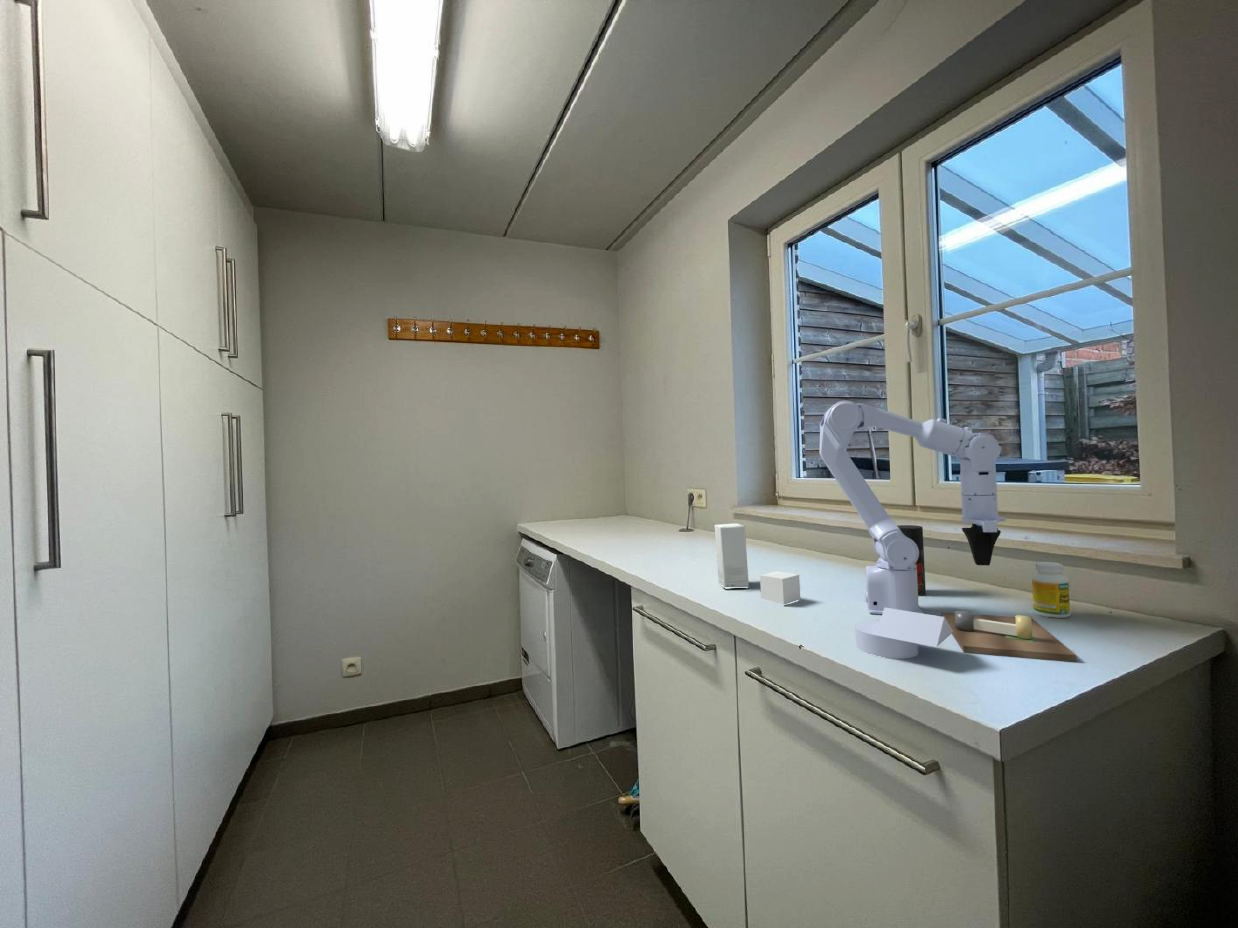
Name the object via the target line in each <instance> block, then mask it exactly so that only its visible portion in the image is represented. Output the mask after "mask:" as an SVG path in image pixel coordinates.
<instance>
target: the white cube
mask: <svg viewBox="0 0 1238 928" xmlns="http://www.w3.org/2000/svg"><path fill="white" fill-rule="evenodd" d="M759 577H760V578H759V580H760V581H759V582H760V600H761V599H765V600H769V601H773V602H776V603H780V604H783V605H784V604H787V603H790V602H793V601H796V600H799V599H800V600H801V587H800V586H801V583H800V581H801V580H800V574H798V573H791V572H785V571H778V570H776V571H771V572H767V573H764V574H763V573H762V574H760V575H759Z"/></svg>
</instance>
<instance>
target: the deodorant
mask: <svg viewBox="0 0 1238 928" xmlns="http://www.w3.org/2000/svg"><path fill="white" fill-rule="evenodd" d="M896 525H897V524H896ZM897 526H898V528H899V529H900V530H901V532H902V533H903V534H904V535H905V536H906V537H908V538H909V539H911V540H913V541H914V542H915V543H916V545H917V547H918V549H919V557H918V560H917V561H916V563H915V564H916V565H917V567H916V568H917V584H918V597H919V596H920V597H921V596H926V594H927V591H926V573H925V572H926V571H925V569H926V567H925V553H924V552H925V551H924V548H925V547H924V531H923V529H924V528H923V526H921V525H916V524H915V525H914V524H913V525H912V524H901V525H900V524H898V525H897Z"/></svg>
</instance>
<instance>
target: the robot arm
mask: <svg viewBox="0 0 1238 928" xmlns="http://www.w3.org/2000/svg"><path fill="white" fill-rule="evenodd" d="M871 427H874V428H879V429H881V430H886V431H889V432H894V433H897V434H901V435H905V436H908V437H912V438H915V440H916V442H917V443H918V445H919V446H920V447H921V448H925V449H927V450H932V451H934V452H938V453H942V454H945V455H948V456H951V457H956V459H958V460H959V461H960V462H959V466H960V472H959V473H960V474H959V475H960V477H959V478H960V494H961V495H960V497H961V518H960V519H961V522H962V523H966V524H971V526H970V527H961V530H962V532H963V534H964V536H965V537H966V540H967V542H968V543H969V544H968V545H969V548H970V551H971V555H972V558H973V562H974V563H975V565H977V566H987V567H988V566H990V564H991V561H992V557H993V551H994V548H995V545H996V542H997V540H998V539H999V536H1001V534H1002V532H1001V530H1000V529H998V524H999V523H1000V522H1006V521H1007V518H1006V517H1005V516H999V507H998V506H999V504H998V483H997V470H996V459H997V458H999V456H1000V455H1001V453H1002V452H1001V451H1002V446H1001V445H999V441H998V440H997V438H995V437H994V436H993V435H992V434H989V433H987V432H976V433H974V432H973V428H972V427H969V426H965V427H960V426H956V425H954V424H951V423H947V419H946V418H941V417H939V418H937V419H934V418H932V419H930V418H929V419H928V420H926V421H924V422H921V421H918V420H915V419H912V418H909V417H906V416H903V415H900V414H897V413H894V412H892V411H890V410H889V411H888V410H885V409H882V408H880V407H876V406H872V405H870V404H865V403H861V402H860V403H855V402H853V401H851V400H839V401H838V402H836V403H834V404H833V405H832V406H830V407H829V408H828V409H827V410H826V411H825V412H824V414H823V416H822V419H821V421H820V424H819V456H820V458H821V459H822V461H823V463H824V464H825V466H826V467H827V469H828V471H830V473H831V475H832V476H833V478H834V479H835V481H836V482H837V484H838V485H839V487H840V488H841V490H842V491H843V493H844V494H845V496H846V497H847V499H848V500H849V502H850V504H851V505H852V506H853V509H855V511H856V513H857V514H858V516H859V517H860V519H861V520H862V521H863V523H864V525H865V527H866V528H867V530H868V531H867V532H868V533H869V535H870V537H871V539H872V540H873V549H874V551H875V553H876V554H877V556H879V558H878V560H877V561H876V562H875V563H876V564H875V565H867V566H865V579H866V580H865V583H866V586H865V587H866V592H865V594H864V595H865V597H864V598H865V602H866V605H867V608H868V613H869V614H873V615H874V614H875V615H877V614H878V615H882V614H883V611H884V608H891V609H897V610H903V611H910V612H916V613H922V614H924V612H923V610H922V608H921V607H920V605H919V596H918V584H917V568H916V567H917V565H916V564H915V563H916V561H917V560H918V557H919V549H918V547H917V545H916V543H915V542H914V541H913V540H911V539H909V538H908V537H906V536H905V535H904V534H903V533H902V532H901V530H900V529H899V528H898V526H897V524H896V523H895V522H894V521H893V519H892V518H891V517H890V515H889V514H888V512H887V511H886V510H885V508H884V507H883V505H882V503H881V502H880V500H879V499H878V497H877V496H876V495H875V493H874V491H873V490H872V488H871V487H870V486H869V484H868V482H867V481H866V479H865V478H864V476H863V475H862V473H861V471H859V469H858V467H857V466H856V464H855V463H854V461H853V460H852V459H851V457H850V455H849V454H848V452H847V449H848V446H849V444H850V440H851V438H852V436H853V434H854V433H855V431H857V430H859V429H865V428H871Z"/></svg>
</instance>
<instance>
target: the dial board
mask: <svg viewBox="0 0 1238 928" xmlns="http://www.w3.org/2000/svg"><path fill="white" fill-rule="evenodd" d="M940 613H941V615H940V616H941V617H945V619H946V621H947V622H948V624H949V625H950V627H951V628H952V630H953V633H952V634H951V635H952V636H953V637H954V639H955V641H956V643H957V644H958V646H959V647H960V649H961V651H962V652H963V653H968V654H969V653H970V654H979V655H992V656H1001V657H1013V658H1016V657H1017V658H1026V659H1037V660H1051V661H1061V662H1062V661H1063V662H1073V663H1077V661H1078V659H1077V654H1075V653H1074V651H1072V650H1071V649H1069V648H1068V647H1067V645H1065V644H1064V643H1062V642H1061V641H1060V640H1059V639H1058V638H1056V637H1055V636H1054V635H1053V634H1051V633H1050V632H1049V631H1048V630H1047V629H1046V628H1044V627H1043V626H1042V625H1041V624H1040V623H1038V621H1036V620H1035V619H1034V618H1032V617H1031V624H1032V639H1023V638H1019V637H1017V636H1014V635H1007V634H1001V633H995V632H988V631H982V630H976V629H975V630H973V631H965V630H960V629H957V628H956V625H955V612H943V611H942V612H940ZM974 614H975V613H974ZM975 618H976V619H983V620H990V621H997V622H1003V623H1010V624H1016V618H1015V616H1012V615H1011V616H1008V615H992V614H991V615H990V614H977V613H976V614H975Z"/></svg>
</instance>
